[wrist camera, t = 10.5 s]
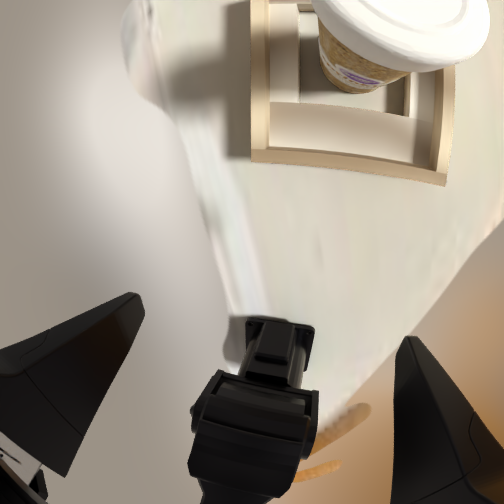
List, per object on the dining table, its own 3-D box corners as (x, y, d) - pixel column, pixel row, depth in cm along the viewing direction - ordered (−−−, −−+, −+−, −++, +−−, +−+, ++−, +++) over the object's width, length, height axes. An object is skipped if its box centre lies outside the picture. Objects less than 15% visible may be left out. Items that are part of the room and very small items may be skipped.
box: (429, 175, 16) (445, 186, 14) (262, 154, 19) (250, 161, 16) (434, 17, 10) (449, 6, 8) (261, -3, 13) (250, -19, 10)
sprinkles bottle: (321, 91, 16) (310, 48, 4) (317, 30, 13) (292, -94, 2) (389, 98, 15) (506, 88, 3) (386, 36, 12) (471, -59, 1)
